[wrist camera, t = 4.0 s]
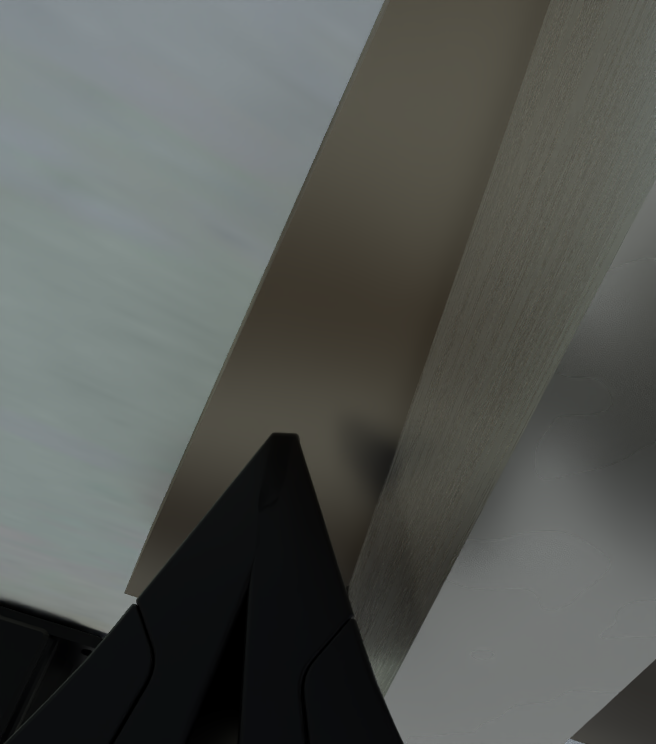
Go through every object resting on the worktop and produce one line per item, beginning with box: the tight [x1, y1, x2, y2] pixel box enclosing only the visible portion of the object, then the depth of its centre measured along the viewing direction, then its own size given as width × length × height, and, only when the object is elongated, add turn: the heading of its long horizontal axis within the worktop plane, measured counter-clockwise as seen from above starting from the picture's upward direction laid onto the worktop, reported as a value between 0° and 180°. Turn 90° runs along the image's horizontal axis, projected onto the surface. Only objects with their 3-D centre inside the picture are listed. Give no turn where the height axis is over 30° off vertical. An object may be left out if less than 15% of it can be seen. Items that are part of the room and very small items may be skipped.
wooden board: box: [125, 0, 656, 744], centre depth 12 cm, size 20×16×2 cm
